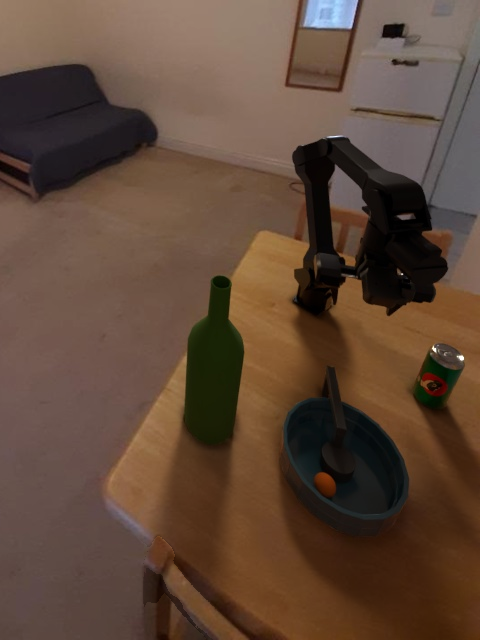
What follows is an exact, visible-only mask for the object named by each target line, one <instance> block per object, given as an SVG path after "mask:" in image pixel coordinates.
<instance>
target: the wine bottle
mask: <svg viewBox="0 0 480 640" xmlns="http://www.w3.org/2000/svg"><path fill="white" fill-rule="evenodd" d="M232 286H233V282H232V280H231V279H230V278H229V277H228V276H226V275H221V274H218V275H213V277H212V278H211V279H210V288H209V289H210V290H209V298H208V309H207V315H205V316H204V317H203V318H201V319H200V320H198V321H197V322H195V324H194V325H193V326H192V327H191V330H190V331H189V334H188V337H187V343H186V344H187V348H186V369H185V389H184V409H183V410H184V412H183V418H184V423H185V425H186V428H187V429H188V431H189V433H190V434H191V435H192V436H193V438H195V439H196V440H198V441H199V442H201V443H203V444H205V445H209V446H210V445H211V446H214V445H220V444H223V443H225V442H227V440H229V438H230V437H231V436H232V435H233V432H234V430H235V426H236V425H235V424H236V417H237V412H238V411H237V409H238V402H239V395H240V388H241V380H242V375H243V374H242V373H243V365H244V358H245V345H244V340H243V336H242V334H241V332H240V331H239V330H238V329H237V327H236V326H235V325H234V323H233V322H232V321H231V320H230V308H231V307H230V306H231V296H232Z"/></svg>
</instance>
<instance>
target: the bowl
mask: <svg viewBox="0 0 480 640" xmlns="http://www.w3.org/2000/svg"><path fill="white" fill-rule="evenodd" d="M341 401H342V407H343V412H344V417H345V422H346V427H347V432H346V435H345V436H344V440H343V443H342V445H343V446H344V447H346V448H347V449H348V450H349V451H350V452H351V454H352V455H353V457H354V459H355V464H356V467H355V470H354V473H353V476H352V479H351V480H350V481H349V482H347V483H339V482H336V481H334V482H335V484H336V492H335V494H334V496H332V497H330V498H327V497H324V496H322V495H321V494H320V493H319V492H318V491H317V490H316V488H315V485H314V478H315V476H316V475H317V474H318V473H321V472H323V473H324V471H323V470H322V468H321V466H320V462H319V458H320V454H321V450H322V447H323V445H324V444H325V443H327V442H332V439H333V435H334V432H335V426H334V420H333V414H332V408H331V402H330V397H328V398H327V397H323V396H319V397H308V398H306V399H303V400H301V401H298V402H296V403H295V404H294V405H293V407H292V408H290V409H289V410H288V411H287V413H286V415H285V418H284V422H283V425H282V429H281V434H280V437H279V442H278V447H279V448H278V451H279V452H278V453H279V462H280V466H281V469H282V472H283V475H284V478H285V481H286V482H287V485H289V487H290V489H291V490H292V492H293V494H294V495H295V497H296V499H297V500H298V501H299V502H300V503H301V504H302V505H303V506H304V507H305V508H306V509H307V511H309V513H311V515H312V516H313V517H314V518H316V519H317V520H319V521H321V522H322V523H324V524H325V525H327V526H328V527H329V528H331V529H332V530H335V531H336V532H339V533H343V534H346V535H349V536H352V537H355V538H375V537H378V536H380V535H383V534H384V533H386V532H388V531H389V530H391V529H392V528H393V526H394V524H395V523H396V521H397V519H398V518H399V516H400V515H401V513H402V510H403V509H404V507H405V505H406V503H407V500H408V499H409V489H410V476H409V472H408V469H407V465H406V461H405V459H404V457H403V455H402V453H401V452H400V449H399V448H398V447H397V445H396V443H395V441H394V439H393V438H392V437H391V436H390V435H389V434H388V433H387V432H386V430H385V429H384V428H383V427H382V426H381V424H380V423H378V422H377V421H375V420H374V419H373V418H372V417H370V416H369V415H368V414H367V413H365V412H364V411H362V410H361V409H359V408H357V407H355V406H353V405H352V404H349V403H347V402H345V401H343V400H341Z"/></svg>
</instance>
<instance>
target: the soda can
mask: <svg viewBox="0 0 480 640" xmlns="http://www.w3.org/2000/svg"><path fill="white" fill-rule="evenodd" d="M465 366H466V364H465V358H464V355H463V354H462V353H461V352H460V351H459V349H457V348H456V347H454V346H452V345H450V344H448V343H445V342H444V343H443V342H437V343H434V344H433V345H431V346H429V347H428V350H427V352H426V355H425V357H424V359H423V362H422V364H421V366H420V369H419V371H418V374H417V376H416V378H415V381H414V383H413V385H412V393H413V395H414V396H415V398H416V399H417V400H418V402H419V403H421V404H422V405H424V406H425V407H427V408H430V409H434V410H441V409H442V410H443V409H445V407H446V406H447V403H448V401H449V399H450V397H451V395H452V393H453V392H454V389H455V387H456V386H457V383H458V381H459V380H460V377H461V375H462V373H463V371H464V369H465Z"/></svg>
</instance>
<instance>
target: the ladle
mask: <svg viewBox="0 0 480 640" xmlns="http://www.w3.org/2000/svg"><path fill="white" fill-rule="evenodd" d="M320 397H327V398H330V402H331V408H332V414H333V420H334V426H335V432H334V435H333V439H332V442H327V443H325V444H324V445H323V447H322V450H321V454H320V458H319V462H320V466H321V468H322V470H323V471H324V473H327V474H328V475H330V476H331V477H332V478H333V480H334V481H336V482H339V483H347V482H349V481H350V480H351V479H352V476H353V473H354V470H355V467H356V464H355V459H354V457H353V455H352V454H351V452H350V451H349V450H348V449H347V448H346V447H344V446H343V445H342V443H343V440H344V436H345V435H346V432H347V427H346V422H345V417H344V412H343V407H342V401H343V400H342V398H341V392H340V387H339V381H338V376H337V372H336V367H335V366H331V365H326V366H325V373H324V377H323V381H322V385H321V389H320Z"/></svg>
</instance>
